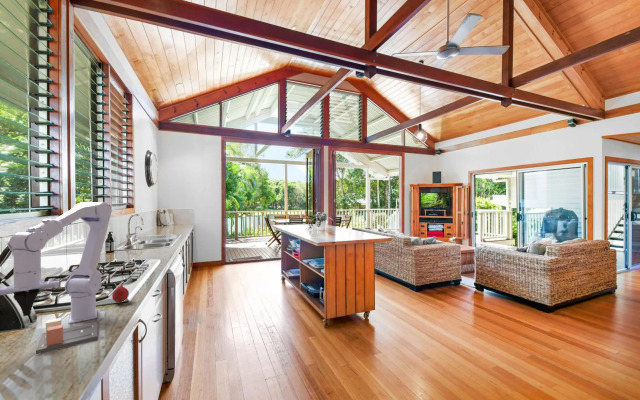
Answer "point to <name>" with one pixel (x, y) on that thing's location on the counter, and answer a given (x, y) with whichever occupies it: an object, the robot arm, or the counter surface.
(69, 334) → the grey base plate
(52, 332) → the block
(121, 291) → the onion
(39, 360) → the counter surface
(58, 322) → the fader cream
